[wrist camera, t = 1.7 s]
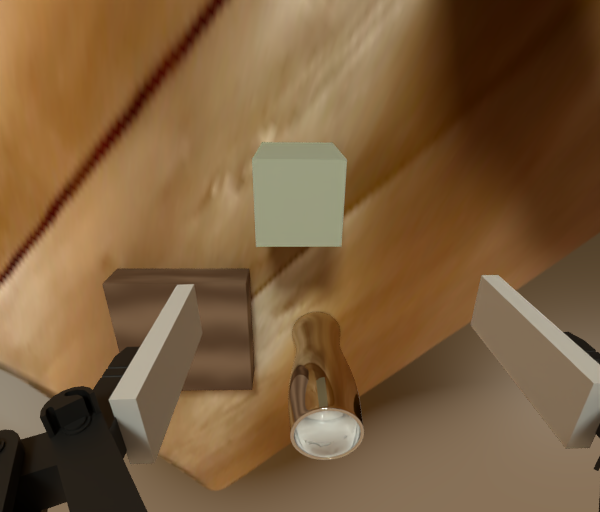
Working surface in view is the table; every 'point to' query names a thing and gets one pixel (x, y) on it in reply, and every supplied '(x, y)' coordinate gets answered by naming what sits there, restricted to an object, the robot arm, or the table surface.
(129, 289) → the walnut block
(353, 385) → the beer glass
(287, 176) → the sage block
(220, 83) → the table surface
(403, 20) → the table surface
